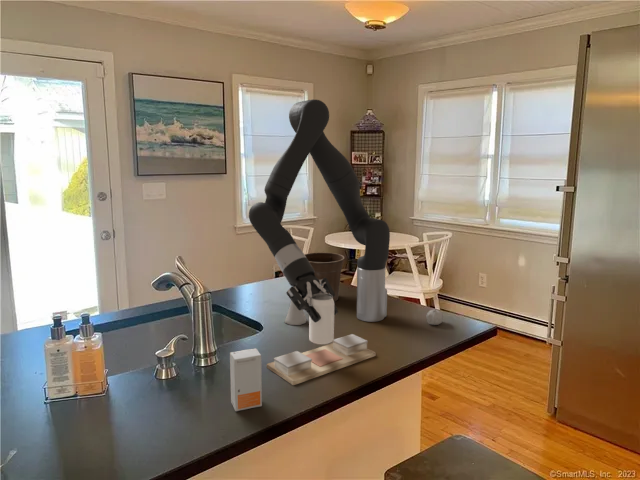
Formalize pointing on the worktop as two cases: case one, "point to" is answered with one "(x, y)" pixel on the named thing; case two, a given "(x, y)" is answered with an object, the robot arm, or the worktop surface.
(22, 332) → the worktop surface
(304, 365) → the tray with two blocks
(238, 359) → the skincare box
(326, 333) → the can
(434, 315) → the garlic
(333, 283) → the plant pot
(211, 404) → the worktop surface
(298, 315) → the flask
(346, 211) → the robot arm
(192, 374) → the worktop surface
